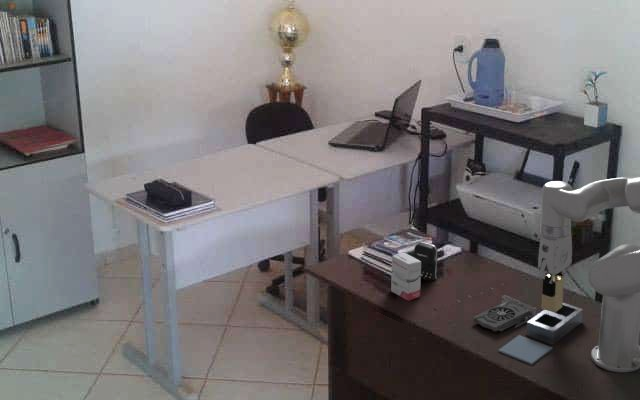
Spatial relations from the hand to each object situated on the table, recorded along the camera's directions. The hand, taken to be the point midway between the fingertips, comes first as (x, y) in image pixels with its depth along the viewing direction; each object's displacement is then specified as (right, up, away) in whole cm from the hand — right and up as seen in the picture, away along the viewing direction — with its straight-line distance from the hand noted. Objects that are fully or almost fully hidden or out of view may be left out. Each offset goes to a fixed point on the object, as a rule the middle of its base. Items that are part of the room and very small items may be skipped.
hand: (552, 291), depth 230 cm
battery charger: (-29, 0, +39) cm, 49 cm away
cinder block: (+2, -11, +7) cm, 13 cm away
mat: (-8, -15, -3) cm, 17 cm away
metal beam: (-18, -5, +27) cm, 33 cm away
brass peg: (0, -5, +2) cm, 5 cm away
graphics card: (-11, -10, +14) cm, 20 cm away
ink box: (-36, -4, +30) cm, 47 cm away
